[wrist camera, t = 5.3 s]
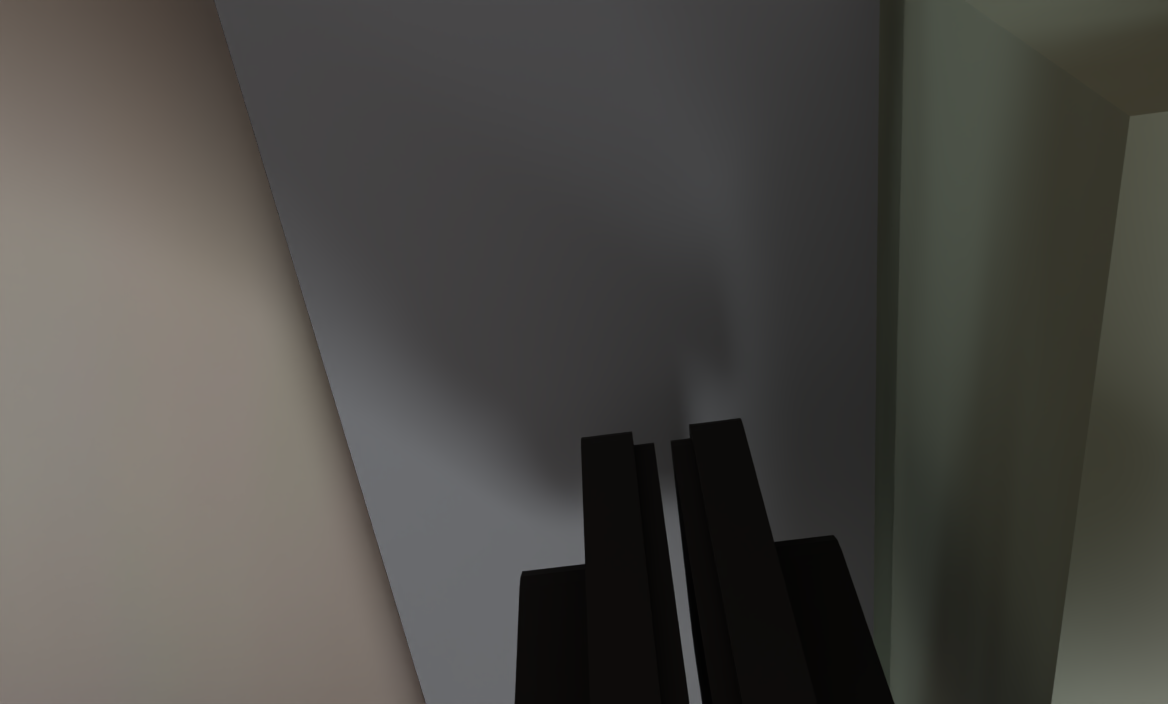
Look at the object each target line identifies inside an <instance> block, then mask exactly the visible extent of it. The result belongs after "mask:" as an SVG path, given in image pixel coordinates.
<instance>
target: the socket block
mask: <svg viewBox="0 0 1168 704" xmlns="http://www.w3.org/2000/svg"><path fill="white" fill-rule="evenodd" d="M873 642H874V645H875V648H876V651H877V654H878V657H879V660H880V663H881V666H882V668H883V671H884V674H885V677H886V680H887V683H888V686H889V689H890V692H891V695H892V698H893V700H894V703H895V704H1168V0H880V14H879V117H878V219H877V321H876V423H875V525H874V627H873Z"/></svg>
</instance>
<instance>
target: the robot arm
mask: <svg viewBox="0 0 1168 704" xmlns="http://www.w3.org/2000/svg"><path fill="white" fill-rule="evenodd" d="M689 436H690V438H687V439H679V440H671V452H672V461H673V470H674V479H675V488H676V496H677V505H678V514H679V523H680V532H681V541H682V550H683V559H684V568H685V576H686V585H687V594H688V603H689V612H690V621H691V630H692V638H693V645H694V653H695V660H696V666H697V673H698V680H699V687H700V693H701V700H702V704H895V703H894V700H893V698H892V695H891V692H890V689H889V686H888V683H887V680H886V677H885V674H884V671H883V668H882V666H881V663H880V660H879V657H878V654H877V651H876V648H875V645H874V642H873V639H872V636H871V634H870V631H869V628H868V625H867V622H866V619H865V616H864V613H863V610H862V607H861V604H860V602H859V599H858V596H857V593H856V590H855V587H854V584H853V581H852V578H851V575H850V572H849V569H848V567H847V564H846V561H845V558H844V555H843V552H842V549H841V547H840V545H839V542H838V540H837V539H836V537H835V536H834V535H828V536H819V537H811V538H802V539H794V540H785V541H777V542H774V539H773V535H772V531H771V527H770V524H769V520H768V516H767V512H766V509H765V505H764V501H763V497H762V494H761V490H760V486H759V482H758V478H757V475H756V471H755V467H754V463H753V460H752V456H751V452H750V448H749V445H748V441H747V437H746V433H745V429H744V426H743V423H742V420H741V418H737V419H728V420H720V421H712V422H704V423H696V424H689ZM581 464H582V492H583V520H584V548H585V564H580V565H571V566H563V567H554V568H545V569H537V570H528V571H522V574H521V576H520V586H519V608H518V633H517V657H516V682H515V704H690V703H689V695H688V688H687V681H686V673H685V666H684V659H683V651H682V644H681V637H680V629H679V622H678V615H677V607H676V600H675V592H674V585H673V578H672V570H671V563H670V556H669V548H668V541H667V534H666V526H665V519H664V512H663V504H662V497H661V490H660V482H659V475H658V468H657V460H656V453H655V446H654V443H646V444H638V445H634V441H633V434H632V431H630V432H622V433H614V434H606V435H598V436H590V437H581Z"/></svg>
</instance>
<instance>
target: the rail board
mask: <svg viewBox="0 0 1168 704" xmlns="http://www.w3.org/2000/svg"><path fill="white" fill-rule="evenodd" d="M214 2H215V5H216V9H217V12H218V15H219V19H220V22H221V25H222V28H223V32H224V35H225V38H226V42H227V45H228V48H229V52H230V55H231V58H232V62H233V65H234V68H235V72H236V75H237V78H238V82H239V85H240V88H241V92H242V95H243V98H244V101H245V105H246V108H247V111H248V115H249V118H250V121H251V125H252V128H253V131H254V135H255V138H256V141H257V145H258V148H259V151H260V155H261V158H262V161H263V165H264V168H265V171H266V174H267V178H268V181H269V184H270V188H271V191H272V194H273V198H274V201H275V204H276V208H277V211H278V214H279V218H280V221H281V224H282V228H283V231H284V234H285V238H286V241H287V244H288V248H289V251H290V254H291V257H292V261H293V264H294V267H295V271H296V274H297V277H298V281H299V284H300V287H301V291H302V294H303V297H304V301H305V304H306V307H307V311H308V314H309V317H310V321H311V324H312V327H313V330H314V334H315V337H316V340H317V344H318V347H319V350H320V354H321V357H322V360H323V364H324V367H325V370H326V374H327V377H328V380H329V384H330V387H331V390H332V394H333V397H334V400H335V403H336V407H337V410H338V413H339V417H340V420H341V423H342V427H343V430H344V433H345V437H346V440H347V443H348V447H349V450H350V453H351V457H352V460H353V463H354V467H355V470H356V473H357V476H358V480H359V483H360V486H361V490H362V493H363V496H364V500H365V503H366V506H367V510H368V513H369V516H370V520H371V523H372V526H373V530H374V533H375V536H376V540H377V543H378V546H379V550H380V553H381V556H382V559H383V563H384V566H385V569H386V573H387V576H388V579H389V583H390V586H391V589H392V593H393V596H394V599H395V603H396V606H397V609H398V613H399V616H400V619H401V623H402V626H403V629H404V632H405V636H406V639H407V642H408V646H409V649H410V652H411V656H412V659H413V662H414V666H415V669H416V672H417V676H418V679H419V682H420V686H421V689H422V692H423V696H424V699H425V702H426V704H515V682H516V657H517V633H518V608H519V586H520V576H521V574H522V571H528V570H537V569H545V568H554V567H563V566H571V565H580V564H585V548H584V520H583V492H582V464H581V437H590V436H598V435H606V434H614V433H622V432H630V431H632V434H633V441H634V445H638V444H646V443H654V446H655V453H656V460H657V468H658V475H659V482H660V490H661V497H662V504H663V512H664V519H665V526H666V534H667V541H668V548H669V556H670V563H671V570H672V578H673V585H674V592H675V600H676V607H677V615H678V622H679V629H680V637H681V644H682V651H683V659H684V666H685V673H686V681H687V688H688V695H689V703H690V704H702V700H701V693H700V687H699V680H698V673H697V666H696V660H695V653H694V645H693V638H692V630H691V621H690V612H689V603H688V594H687V585H686V576H685V568H684V559H683V550H682V541H681V532H680V523H679V514H678V505H677V496H676V488H675V479H674V470H673V461H672V452H671V440H679V439H687V438H690V436H689V424H696V423H704V422H712V421H720V420H728V419H737V418H741V420H742V423H743V426H744V429H745V433H746V437H747V441H748V445H749V448H750V452H751V456H752V460H753V463H754V467H755V471H756V475H757V478H758V482H759V486H760V490H761V494H762V497H763V501H764V505H765V509H766V512H767V516H768V520H769V524H770V527H771V531H772V535H773V539H774V542H777V541H785V540H794V539H802V538H811V537H819V536H828V535H834V536H835V537H836V539H837V540H838V542H839V545H840V547H841V549H842V552H843V555H844V558H845V561H846V564H847V567H848V569H849V572H850V575H851V578H852V581H853V584H854V587H855V590H856V593H857V596H858V599H859V602H860V604H861V607H862V610H863V613H864V616H865V619H866V622H867V625H868V628H869V631H870V634H871V636H872V639H873V627H874V525H875V423H876V321H877V219H878V117H879V14H880V0H214Z"/></svg>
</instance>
